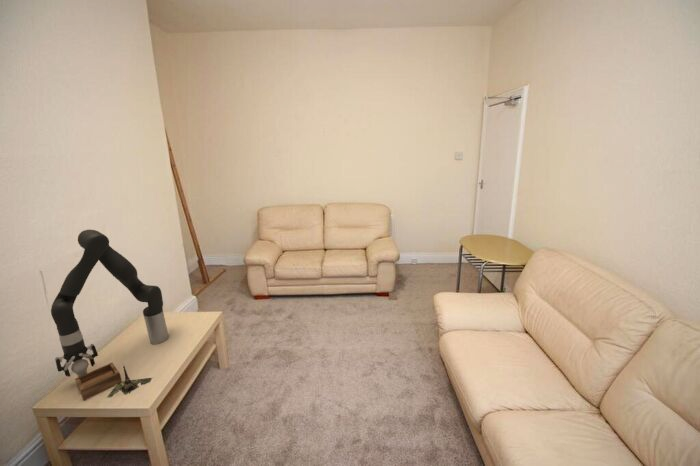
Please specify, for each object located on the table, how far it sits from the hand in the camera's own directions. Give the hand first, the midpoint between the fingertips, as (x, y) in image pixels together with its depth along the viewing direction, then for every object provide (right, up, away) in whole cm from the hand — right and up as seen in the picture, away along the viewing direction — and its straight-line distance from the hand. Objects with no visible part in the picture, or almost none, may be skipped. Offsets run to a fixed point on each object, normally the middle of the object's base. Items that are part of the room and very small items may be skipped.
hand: (80, 370), depth 144 cm
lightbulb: (0, -6, +2) cm, 6 cm away
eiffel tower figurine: (+26, -7, -3) cm, 27 cm away
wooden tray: (+10, -6, -1) cm, 12 cm away
